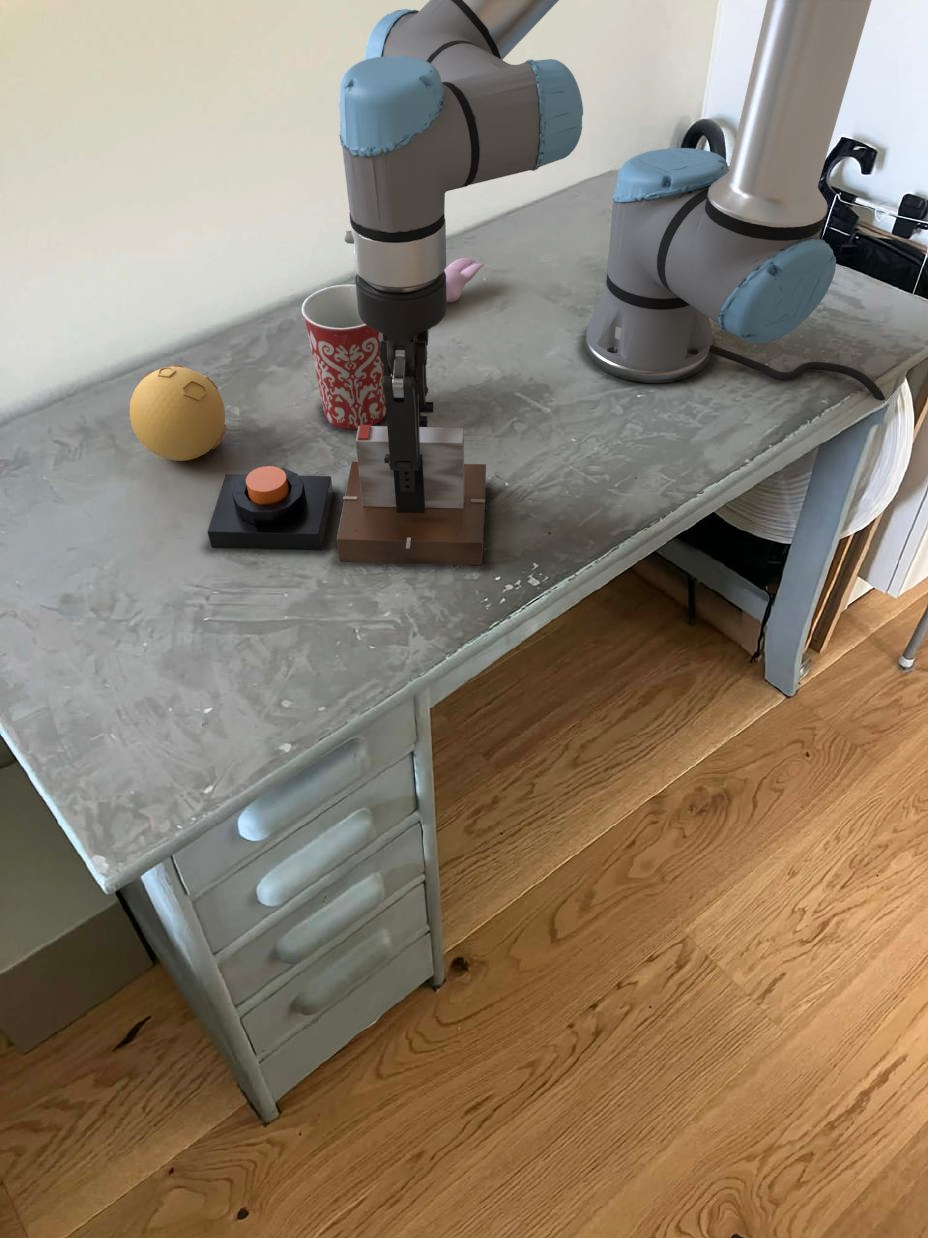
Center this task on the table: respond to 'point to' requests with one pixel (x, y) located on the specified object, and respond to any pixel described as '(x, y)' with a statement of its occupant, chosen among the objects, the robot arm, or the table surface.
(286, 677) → the table surface
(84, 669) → the table surface
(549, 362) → the table surface
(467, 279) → the rabbit figure
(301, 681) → the table surface
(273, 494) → the button
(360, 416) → the mug
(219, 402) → the stress ball
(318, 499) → the button housing
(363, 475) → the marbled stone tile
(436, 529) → the plate
